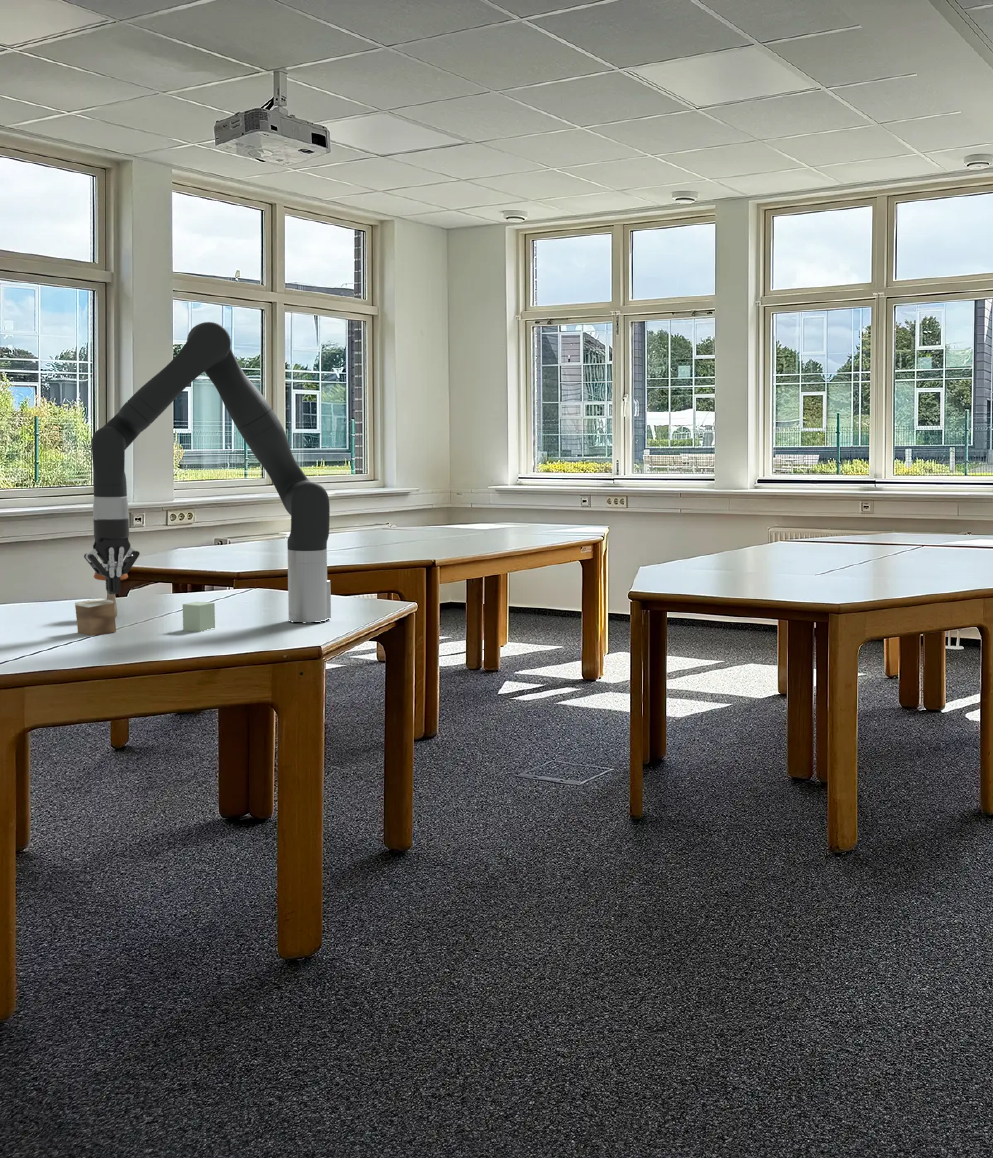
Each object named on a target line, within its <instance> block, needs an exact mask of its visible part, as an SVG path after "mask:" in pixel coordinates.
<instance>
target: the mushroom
mask: <svg viewBox="0 0 993 1158" xmlns="http://www.w3.org/2000/svg"><path fill="white" fill-rule="evenodd" d="M100 563H101V565H102V562H100ZM128 578H129V575H128V573H127V574H123V575H122V576H121V577H120V581H124V580H127V579H128ZM93 579H95V580H98V581H105V582H106V578H105V576H102V575H98V574H97V573H96V572H95V571H94V575H93ZM106 600H111V601H113V603H114V613H115V618H117V617H118V611H119V610H118V603H117V598H116V594H109V593H108V592H107V591H106Z"/></svg>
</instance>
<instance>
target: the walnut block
mask: <svg viewBox="0 0 993 1158" xmlns="http://www.w3.org/2000/svg"><path fill="white" fill-rule="evenodd" d="M74 607H75V616H76V624H77V625H76V626H77V633H79V634H83V635H87V636H91V637H92V636H100V635H106V634H113V633H116V632H117V625H116V624H117V623H116V617H115V613H114V603H113V601H111V600H107V599H106V598H96V599H90V600H83V601H78V602H75V603H74Z"/></svg>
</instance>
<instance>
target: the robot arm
mask: <svg viewBox="0 0 993 1158" xmlns="http://www.w3.org/2000/svg"><path fill="white" fill-rule="evenodd" d="M231 345H232V341H231V336H230V334H229V332H228V331H227V329H226V328H225V327H223V326H222V325H220V324H219V323H217V322H214V321H212V322H211V321H206V322H205V321H204V322H202V323H198V324H195V326H193V327H192V328H191V330H190V331H189V332H188V335H187V338H186V342H185V344H184V345H183V346H182V348H181V349H180V351H179V352H178V353H177V355H175V356H174V357H173V358H172V360H171V361H170V362H169V363H167V365H166V366H165V367H163V368H162V369H161V370H160V371H159V372H158V373H156V374H155V375H154V376H152V377H151V378H150V379H149V380H148V381H147V382H146V383H145V384H143V385H142V386H140V388H139V389H138V390H137V391H135V393H134V394H133V395H132V396H131V397H130V398H129V399H128V400H127V401H126V402H125V403H124V404H123V405H122V407H121V408H120V410H119V411H118V413H116V414H115V415H113V417H111V418H110V420H109V421H108V422H107V423H106V424H104V425H103V426H102V427H100V428H98V429H97V430H96V431H95V432H94V433H93V435H92V437H91V455H92V465H93V503H92V504H93V505H92V513H93V514H92V516H93V517H92V518H93V538H94V543H93V545H92V549H91V550H90V551H89V552H88V553H84V554H83V557H84V559H85V561H86V562H87V563H88V564H89V565H90V567H91V568H92V569H93V570H94V573H95V572H96V573H97V574H98V575H102V576H105V578H106V581H105V591H106V593H107V592H108V593H109V594H115V595H119V593H120V591H121V589H122V588H121V587H122V586H121V585H122V584H121V580H120V577H121V576H122V575H123V574H127V575H128V574H129V572H130V570H131V569H132V567H133V566H134V564H136V563H135V562H136V561H137V559H138V558H139V556H140V554H141V553H140V551H138V550H135V549H133V548H132V546H131V543H130V540H129V537H130V522H129V521H130V518H129V517H130V516H129V515H130V512H129V503H128V497H127V496H128V491H127V489H128V488H127V478H126V477H127V476H126V473H125V464H126V463H125V461H126V460H125V457H126V456H125V455H126V453H125V451H126V450H127V449H128V447H129V446H130V445H132V443H133V442H134V441H135V440H136V439H137V437H138V436H140V435H141V433H142V432H144V431H145V430H146V429H147V428H148V427H149V426H150V425H151V424H152V423H154V422H155V420H156V419H158V418H159V416H161V415H162V414H163V413H164V411H165V410H167V409H168V408H169V407H170V405H171V404H172V403H173V402H174V401H175V400H176V398H178V396H180V394H181V393H182V392H183V391H184V390H185V389H186V388H187V387H188V386H189V385H190V384H191V383H192V382H194V381H195V380H196V379H197V378H198V377H199V376H201V375H202V374H203V373H205V374H206V376H207V377H208V379H210V381H211V382H212V384H213V386H214V388H215V389H216V390H217V393H218V394H219V396H220V399H221V400H222V404H223V405H224V407H225V409H226V410H227V412H228V414H229V415H228V416H230V419H232V420H231V421H232V422H233V423H234V425H235V427H236V429H237V431H238V432H239V434H240V435H241V437H242V439H243V441H244V442H245V443H246V445H247V446H248V448H249V449H250V451H251V452H252V453H253V455H254V456H255V458H256V460H257V461H258V463H260V465H261V466H262V468H263V469H264V470H265V472H266V473H267V474H268V475H267V476H269V478H270V480H271V482H272V484H273V486H274V488H275V490H276V492H277V494H278V496H279V498H280V500H281V502H282V504H283V506H284V509H285V510H286V511H287V514H289V515H290V532H289V536H288V537H287V542H286V543H287V593H288V594H287V595H288V596H287V597H288V598H287V601H288V602H287V603H288V604H287V605H288V608H287V609H288V621H289V620H290V621H293V622H315V621H321V620H325V619H327V618H331V619H332V603H331V602H332V599H331V598H332V594H331V589H332V587H331V580H330V579H328V551H327V548H328V547H327V543H328V540H329V536H330V514H331V513H330V511H331V510H330V509H331V507H330V505H331V504H330V499H329V495H328V492H327V490H326V489H325V488H324V487H323V486H322V485H321V484H319V483H317V482H314V481H310V479H309V478H308V477H307V476H306V474H305V473H304V472H303V470H302V468H301V467H300V465H299V464H298V462H297V461H296V459H295V458H294V457H295V456H294V455H293V453H292V450H291V447H290V444H289V441H288V437H287V435H286V432H285V429H284V427H283V425H282V423H281V421H280V419H279V418H278V416H277V414H276V413H275V411H274V410H273V408H272V406H271V405H270V403H269V402H268V401H267V399H266V398H265V396H264V395H263V393H262V392H261V391H260V390H259V388H258V387H257V386H256V385H255V384H254V383H253V382H252V381H251V380H250V378H248V376H247V375H246V374H245V372H244V370H243V369H242V367H241V366H240V364H239V362H238V360H237V357H235V355H234V352H233V350H232V347H231ZM98 559H100V560H101V562H100V561H99V560H98ZM101 563H102V565H101ZM293 622H292V623H293Z"/></svg>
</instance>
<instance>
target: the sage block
mask: <svg viewBox="0 0 993 1158" xmlns="http://www.w3.org/2000/svg"><path fill="white" fill-rule="evenodd" d="M215 610H216V607H215V602H207V601H206V602H205V601H193V602H189V603H188V602H187V603H182V630H183V631H186V630H187V631H189V632H196V631H197V633H201V631H202V632H205V631H204V630H207V629H211V628H215V629H216V616H215V615H216V611H215ZM207 631H208V630H207Z"/></svg>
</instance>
